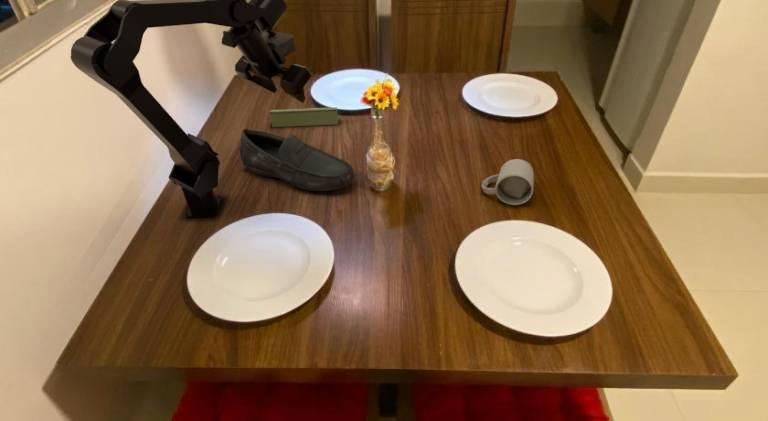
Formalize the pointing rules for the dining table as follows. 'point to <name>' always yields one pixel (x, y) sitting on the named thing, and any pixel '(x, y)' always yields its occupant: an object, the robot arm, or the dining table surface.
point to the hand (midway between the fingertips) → (289, 96)
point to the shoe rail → (304, 117)
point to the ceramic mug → (512, 182)
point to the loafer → (293, 161)
